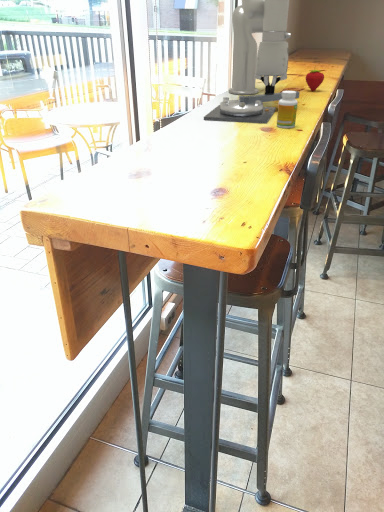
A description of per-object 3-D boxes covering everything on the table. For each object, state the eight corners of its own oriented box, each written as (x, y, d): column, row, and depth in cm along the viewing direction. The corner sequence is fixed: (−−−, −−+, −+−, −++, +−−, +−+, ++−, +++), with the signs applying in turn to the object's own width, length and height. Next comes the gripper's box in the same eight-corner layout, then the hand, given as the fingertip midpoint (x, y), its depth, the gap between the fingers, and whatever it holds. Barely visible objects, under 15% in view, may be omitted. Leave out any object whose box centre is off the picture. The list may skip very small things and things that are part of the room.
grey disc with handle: (284, 101, 148) (285, 88, 146) (308, 108, 137) (310, 94, 135) (212, 109, 138) (212, 95, 136) (233, 117, 127) (233, 102, 125)
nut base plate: (219, 107, 146) (219, 103, 146) (275, 110, 141) (275, 106, 140) (203, 120, 130) (203, 115, 129) (266, 123, 125) (266, 119, 124)
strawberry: (322, 92, 169) (325, 66, 164) (303, 92, 171) (306, 66, 166) (322, 90, 174) (326, 64, 169) (304, 89, 176) (307, 64, 171)
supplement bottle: (295, 128, 119) (299, 93, 114) (276, 128, 120) (279, 93, 115) (294, 124, 123) (298, 90, 118) (276, 124, 124) (279, 89, 119)
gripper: (298, 36, 132) (292, 96, 142) (253, 36, 136) (249, 95, 146) (296, 38, 126) (289, 100, 136) (248, 38, 130) (245, 98, 140)
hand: (269, 97), depth 141 cm, fingers closed
